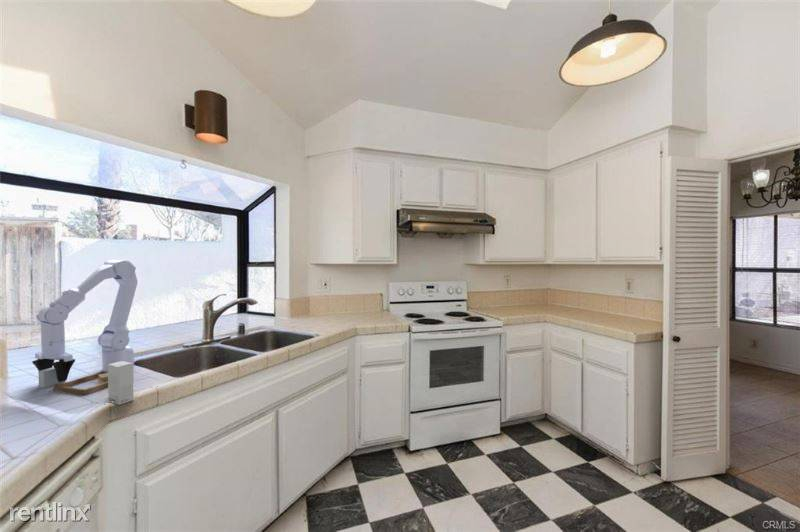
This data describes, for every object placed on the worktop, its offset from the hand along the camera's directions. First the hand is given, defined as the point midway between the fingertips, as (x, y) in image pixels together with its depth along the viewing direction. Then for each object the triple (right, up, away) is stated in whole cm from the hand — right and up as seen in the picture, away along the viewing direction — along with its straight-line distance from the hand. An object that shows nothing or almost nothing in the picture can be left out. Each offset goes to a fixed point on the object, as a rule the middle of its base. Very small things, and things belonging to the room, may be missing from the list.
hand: (54, 380), depth 118 cm
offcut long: (+15, -3, +3) cm, 16 cm away
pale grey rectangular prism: (0, -3, 0) cm, 3 cm away
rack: (+14, -3, 0) cm, 15 cm away
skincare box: (+31, -4, -10) cm, 33 cm away
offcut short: (+15, -1, +3) cm, 16 cm away
